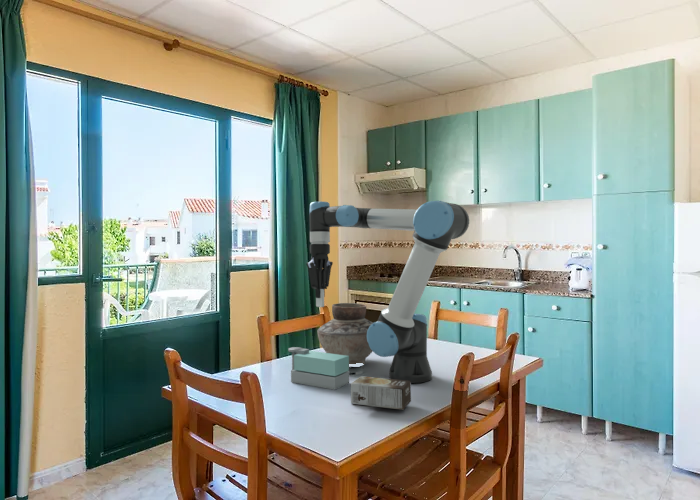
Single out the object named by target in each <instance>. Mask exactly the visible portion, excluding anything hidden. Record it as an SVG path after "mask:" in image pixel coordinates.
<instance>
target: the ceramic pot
mask: <svg viewBox="0 0 700 500" xmlns="http://www.w3.org/2000/svg"><path fill="white" fill-rule="evenodd" d="M331 311H332V312H331V313H332V317H333V318H332V319H331V320H329V321H328V322H326V323H324V324H323V325H321V326H320V327H319V328H318V329H317V339H318V341H319V344H320V345H321V347H322V349H323V350H324V353H331V354H339V355H346V356H349V364H356V363H363V364H364V366H365V365H366V359H367V357H369V356H370V355H371V354H372V353H373V351H372V350H371V348H370V347H369V343H368V342H367V330H368V328H369V327H370V325H372V324H373V323H374V322H372V321H370V320H369V319H367V318H365V317H366V313H367V305H366V304H363V303H355V302H354V303H353V302H352V303H351V302H343V303H342V302H341V303H340V302H338V303H334V304H331Z"/></svg>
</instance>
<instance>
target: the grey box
mask: <svg viewBox="0 0 700 500" xmlns="http://www.w3.org/2000/svg"><path fill="white" fill-rule="evenodd" d="M294 355H296V352H291V371H290V383H293V384H299V385H305V386H311V387H317V388H323V389H329V390H338V389H339V388H342V387H343V386H346V385H349V384H350V371H347V372H344V373H342V374H339V375H337V376H330V375H324V374H318V373H311V372H305V371H299V370H294Z"/></svg>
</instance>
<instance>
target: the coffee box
mask: <svg viewBox="0 0 700 500" xmlns="http://www.w3.org/2000/svg"><path fill="white" fill-rule="evenodd" d="M411 385H412V383H411V381H408V380H397V379H390V378H385V377H383V378H382V377H374V376H373V377H372V376H364V375H362V376H359V377H358V378H356V379H355V380H353V381H352V382H351V383H350V404H351V405H353V404H354V405H359V406H369V407H377V408H385V409H395V410H403V411H404V410H405V409H406V407H407V406H408V405H409V404H410V403H411V402H412V395H411V394H412V389H411V387H412V386H411Z"/></svg>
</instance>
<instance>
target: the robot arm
mask: <svg viewBox="0 0 700 500" xmlns="http://www.w3.org/2000/svg"><path fill="white" fill-rule="evenodd" d="M308 212H309V213H308V218H309V242H310V244H309V254H311V257H310V261H309V262H306V263H305V264H306V266H307V269H308V270H307V271H308V275H309V281H310V287H311V288H312V289H313V290H315V293H314V294H315V296H314V297H315V306H316V307H317V308H324V307H325V297H326V295H325V294H326V292H325V290H327V289H328V288H329V285H330V277H331V272H332V271H331V270H332V266H333V264H334V263H333V261H330V260H329V256H328V255H329V254H330V252H331V246H330V245H331V244H330V242H331V230H330V229H331V228H336V227H339V228H358V229H359V228H360V229H375V230H377V229H378V230H394V231H409V232H411V231H412V232H413V234H412V238H413V241H414V244H413V246H412V249H411V252H410V253H409V256H408V258H407V260H406V263H405V266H404V268H403V270H402V272H401V275H400V278H399V280H398V283H397V285H396V287H395V290H394V292H393V295H392V297H391V299H390V302H389V303H388V304H389V305H388V307H386V308H384V309H382V310H381V311H380V314H379V317H378V319H377V321H374V322H373V324H372V325H370V327H369V328H368V330H367V342H368V343H369V347H370V348H371V350H372V353H374V354H375V355H376V356H379V357H382V358H387V357H392V361H391V365H390V367H389V371H388V373H389V374H388V377H389V379H397V380H408V381H411V384H419V383H426V382H429V381H431V380H432V379H433V371H432V368H431V365H430V362H429V359H428V343H427V342H428V340H427V339H428V337H427V335H428V331H427V330H428V323H427V322H428V321H427V316H426V315H424V314H422V313H416V310H417V307H418V306H419V303H420V300H421V298H422V296H423V293H424V291H425V288H426V287H427V284H428V282H429V280H430V277H431V275H432V273H433V271H434V268H435V266H436V263H437V262H438V259H439V257H440V254H441V253H443V252H445V251H447V250H448V248H449V246H450V243H451V241H452V240H455V239H458V238H460V237H462V236H463V235H464V234H465V233H466V232H467V230H468V229H469V227H470V217H469V213H468V211H467V209H465V208H464V207H463V206H462V205H459V204H457V203H453V202H451V203H450V202H447V201H442V200H430V201H427V202H425V203H423V204H421V205H420V206H419V207H418V208H417V209H414V208H413V209H411V208H409V209H408V208H407V209H406V208H405V209H403V208H371V207H370V208H368V207H367V208H364V207H356V206H354V205H351V204H350V205H349V204H348V205H347V204H343V205H335V206H330V203H329V202H328V201H312V202H310V204H309V211H308Z"/></svg>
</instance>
